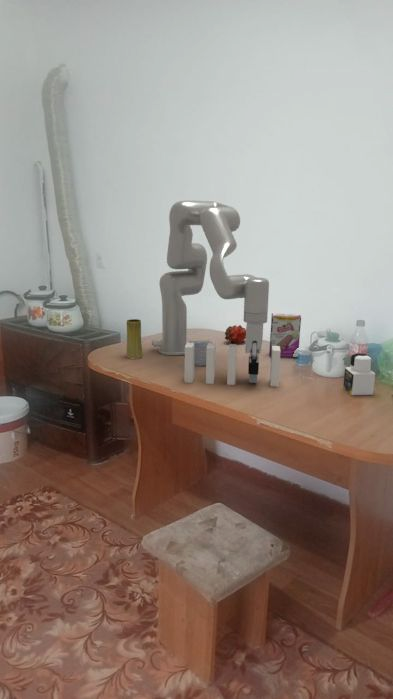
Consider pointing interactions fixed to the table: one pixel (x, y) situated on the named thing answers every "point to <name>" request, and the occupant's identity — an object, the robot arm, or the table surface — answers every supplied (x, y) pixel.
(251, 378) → the domino
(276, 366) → the domino
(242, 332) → the dragon fruit
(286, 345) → the candy bar box
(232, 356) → the domino
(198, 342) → the medicine box
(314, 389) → the table surface
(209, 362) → the domino
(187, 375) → the domino
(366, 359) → the medicine bottle
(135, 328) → the vase
